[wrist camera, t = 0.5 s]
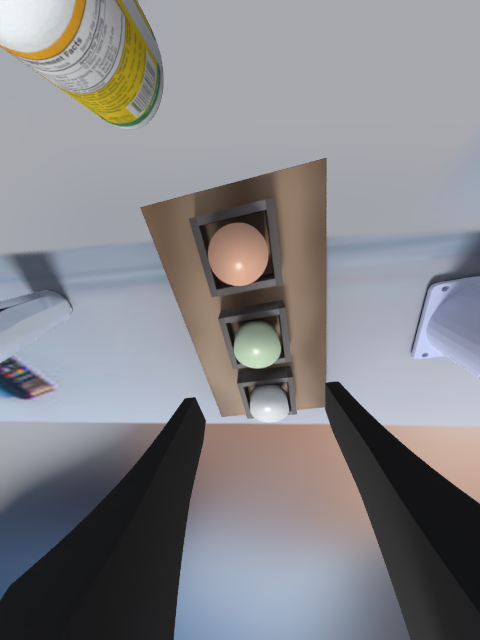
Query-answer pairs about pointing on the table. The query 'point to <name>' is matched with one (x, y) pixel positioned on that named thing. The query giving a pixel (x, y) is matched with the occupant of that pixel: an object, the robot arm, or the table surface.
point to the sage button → (257, 344)
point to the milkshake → (29, 319)
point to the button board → (259, 296)
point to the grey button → (268, 403)
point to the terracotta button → (238, 254)
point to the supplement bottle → (90, 53)
